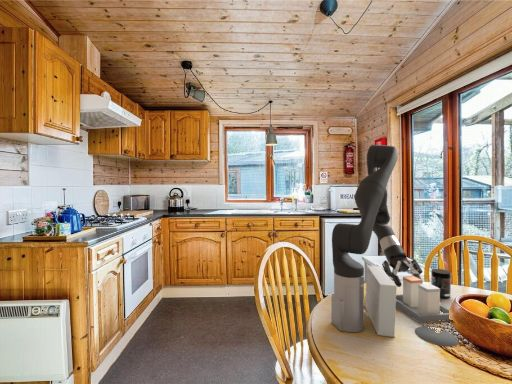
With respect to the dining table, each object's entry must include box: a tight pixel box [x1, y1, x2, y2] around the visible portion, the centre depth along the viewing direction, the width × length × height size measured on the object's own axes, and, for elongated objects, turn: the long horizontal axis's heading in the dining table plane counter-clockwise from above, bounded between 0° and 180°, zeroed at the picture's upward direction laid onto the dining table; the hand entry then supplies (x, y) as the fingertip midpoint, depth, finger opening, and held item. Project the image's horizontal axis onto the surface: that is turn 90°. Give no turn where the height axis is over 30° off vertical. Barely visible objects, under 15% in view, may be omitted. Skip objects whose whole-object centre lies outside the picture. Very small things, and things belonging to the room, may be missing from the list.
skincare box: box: [364, 265, 398, 338], centre depth 95 cm, size 21×6×16 cm, turn 168°
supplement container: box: [430, 268, 452, 300], centre depth 114 cm, size 7×7×10 cm
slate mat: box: [414, 325, 459, 348], centre depth 84 cm, size 11×11×1 cm
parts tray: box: [396, 293, 451, 324], centre depth 102 cm, size 18×14×2 cm
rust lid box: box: [402, 275, 423, 307], centre depth 106 cm, size 5×5×10 cm
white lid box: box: [418, 283, 441, 315], centre depth 97 cm, size 5×5×10 cm
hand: (410, 285), depth 107 cm, fingers open, 8 cm apart
